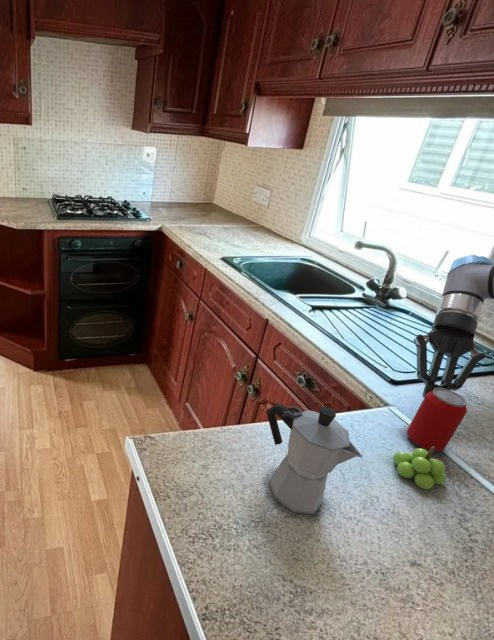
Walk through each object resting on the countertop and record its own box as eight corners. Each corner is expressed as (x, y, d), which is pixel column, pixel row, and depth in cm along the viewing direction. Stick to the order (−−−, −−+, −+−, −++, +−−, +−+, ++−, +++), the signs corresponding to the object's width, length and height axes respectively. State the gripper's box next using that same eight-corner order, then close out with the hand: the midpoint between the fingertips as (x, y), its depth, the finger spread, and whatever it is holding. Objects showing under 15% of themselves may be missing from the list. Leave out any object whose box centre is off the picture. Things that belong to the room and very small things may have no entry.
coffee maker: (341, 503, 68) (382, 422, 60) (320, 534, 63) (362, 449, 55) (262, 450, 78) (288, 373, 70) (237, 473, 72) (263, 392, 64)
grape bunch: (429, 464, 78) (446, 436, 75) (450, 498, 72) (470, 468, 68) (385, 455, 80) (400, 427, 76) (402, 487, 73) (419, 458, 69)
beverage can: (438, 437, 86) (465, 392, 81) (446, 459, 80) (476, 412, 75) (402, 426, 88) (426, 381, 83) (408, 446, 83) (433, 400, 77)
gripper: (484, 333, 92) (458, 430, 87) (417, 315, 98) (389, 404, 92) (501, 321, 86) (475, 425, 80) (428, 302, 91) (399, 398, 86)
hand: (429, 414), depth 86 cm, fingers closed
